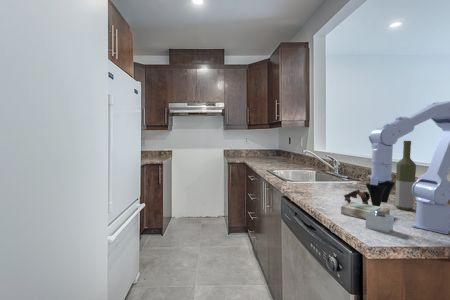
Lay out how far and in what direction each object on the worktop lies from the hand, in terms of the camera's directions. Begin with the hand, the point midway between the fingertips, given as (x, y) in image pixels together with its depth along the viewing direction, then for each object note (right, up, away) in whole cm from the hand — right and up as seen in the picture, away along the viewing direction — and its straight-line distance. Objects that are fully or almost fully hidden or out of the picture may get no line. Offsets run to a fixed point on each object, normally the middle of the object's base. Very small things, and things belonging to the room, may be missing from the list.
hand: (379, 204), depth 86 cm
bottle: (+27, -8, +27) cm, 39 cm away
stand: (+4, -8, +16) cm, 18 cm away
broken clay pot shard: (+9, -8, +32) cm, 34 cm away
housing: (0, -9, 0) cm, 9 cm away
